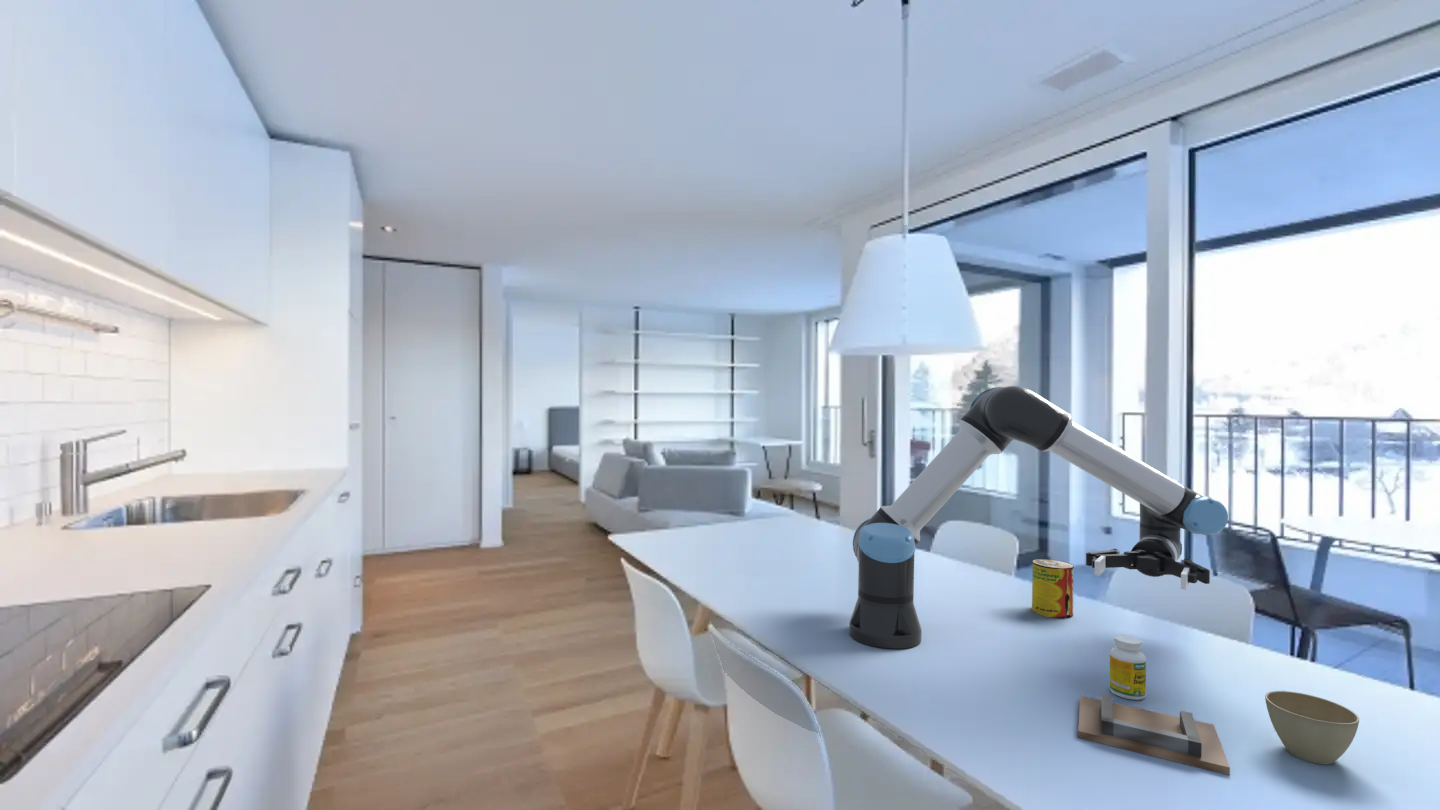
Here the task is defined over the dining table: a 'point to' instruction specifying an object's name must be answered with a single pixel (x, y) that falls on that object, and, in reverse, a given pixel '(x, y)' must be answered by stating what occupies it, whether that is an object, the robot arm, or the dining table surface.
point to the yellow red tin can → (1052, 588)
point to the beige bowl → (1311, 725)
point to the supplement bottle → (1128, 668)
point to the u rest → (1152, 733)
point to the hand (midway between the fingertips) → (1138, 574)
